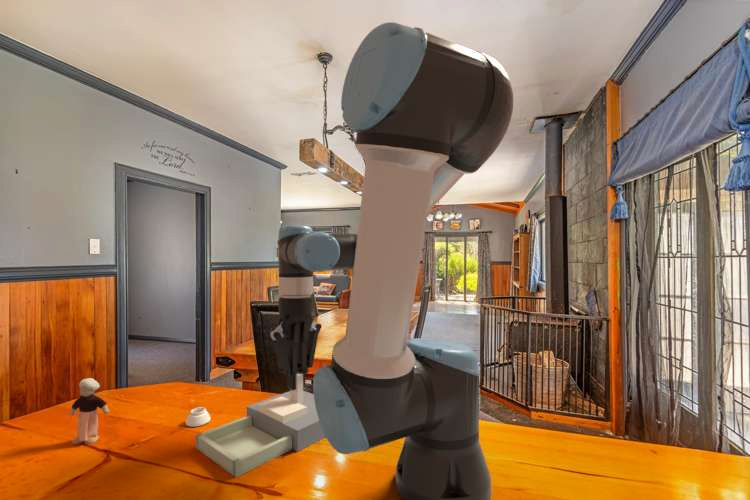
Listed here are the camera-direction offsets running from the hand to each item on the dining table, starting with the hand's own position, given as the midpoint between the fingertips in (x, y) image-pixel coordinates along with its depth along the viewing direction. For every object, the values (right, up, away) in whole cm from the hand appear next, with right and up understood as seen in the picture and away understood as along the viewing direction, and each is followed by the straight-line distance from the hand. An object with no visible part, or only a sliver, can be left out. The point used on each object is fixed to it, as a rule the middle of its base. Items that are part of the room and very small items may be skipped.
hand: (296, 402), depth 82 cm
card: (-2, -1, -3) cm, 4 cm away
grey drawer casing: (0, -5, 0) cm, 5 cm away
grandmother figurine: (-41, -5, -6) cm, 42 cm away
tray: (-8, -5, -10) cm, 14 cm away
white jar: (-23, -6, +2) cm, 23 cm away
